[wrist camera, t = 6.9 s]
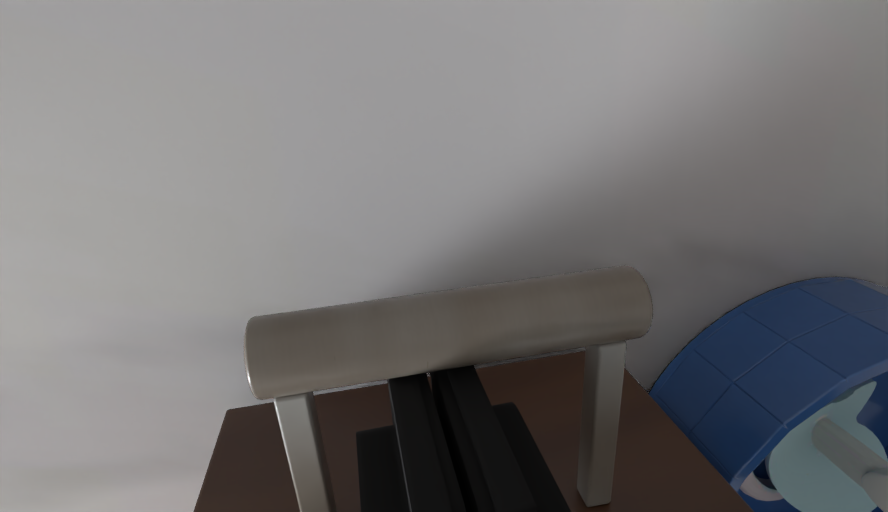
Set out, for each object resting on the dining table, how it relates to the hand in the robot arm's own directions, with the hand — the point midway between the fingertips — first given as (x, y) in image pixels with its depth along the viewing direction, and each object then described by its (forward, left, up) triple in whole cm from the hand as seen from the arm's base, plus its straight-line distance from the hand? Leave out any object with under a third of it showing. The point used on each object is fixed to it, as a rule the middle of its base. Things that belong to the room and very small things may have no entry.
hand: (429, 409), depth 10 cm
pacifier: (+9, +16, -6) cm, 19 cm away
